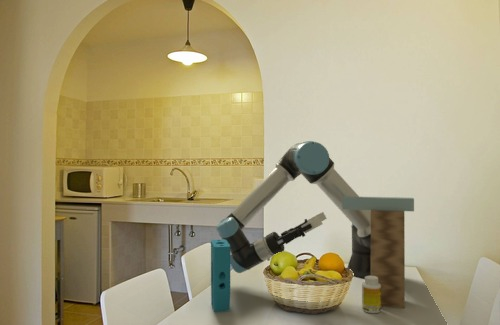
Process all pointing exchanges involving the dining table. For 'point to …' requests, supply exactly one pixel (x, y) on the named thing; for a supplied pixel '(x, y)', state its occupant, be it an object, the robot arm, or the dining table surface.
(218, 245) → the block
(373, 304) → the supplement bottle
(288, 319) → the dining table surface
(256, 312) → the dining table surface
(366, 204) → the bar
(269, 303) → the dining table surface
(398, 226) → the walnut stand
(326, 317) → the dining table surface
